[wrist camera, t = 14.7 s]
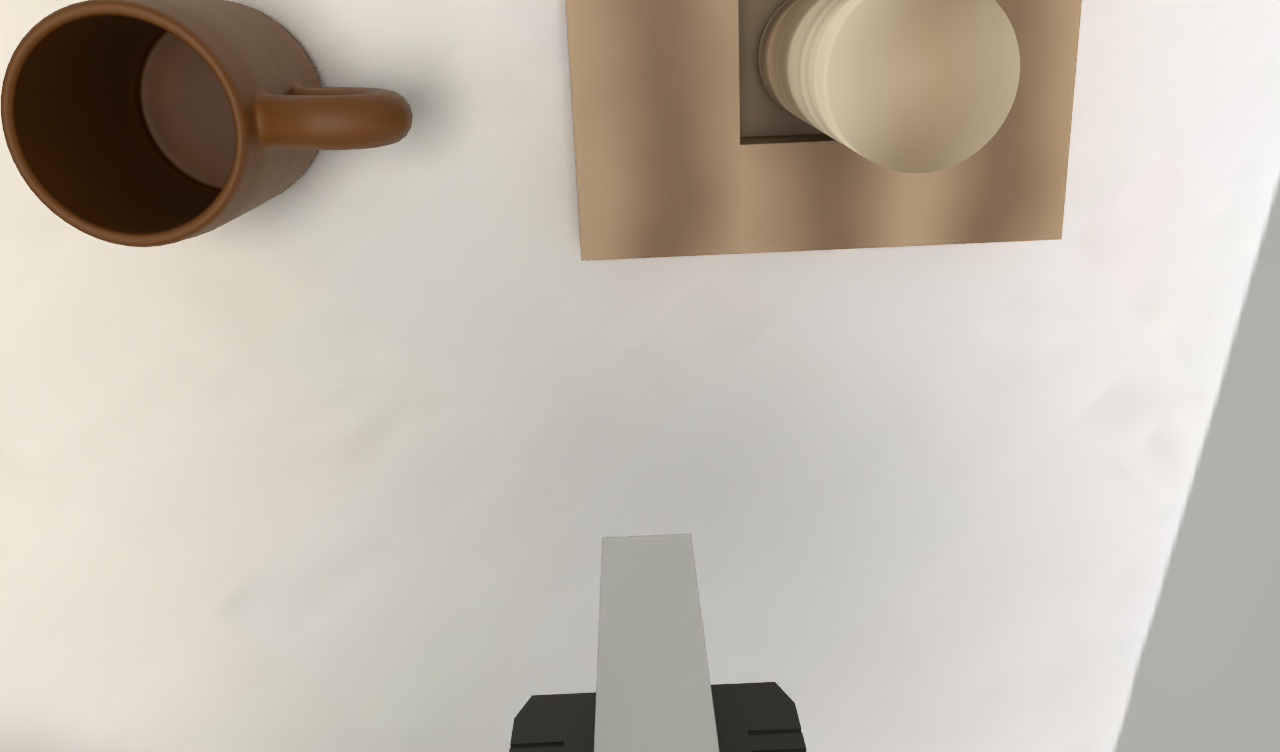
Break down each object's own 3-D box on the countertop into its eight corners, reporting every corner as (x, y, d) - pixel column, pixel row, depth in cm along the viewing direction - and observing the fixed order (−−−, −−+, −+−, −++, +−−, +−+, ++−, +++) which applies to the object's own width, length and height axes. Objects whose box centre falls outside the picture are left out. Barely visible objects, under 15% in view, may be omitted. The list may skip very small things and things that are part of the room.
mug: (438, -5, 40) (384, -9, 31) (452, 199, 42) (406, 249, 33) (115, -1, 40) (-32, -5, 31) (147, 203, 42) (19, 254, 33)
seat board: (584, 244, 43) (581, 260, 40) (561, -140, 38) (556, -153, 36) (1032, 224, 43) (1061, 239, 40) (1062, -163, 38) (1096, -177, 36)
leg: (750, 118, 41) (824, 179, 26) (749, -10, 39) (827, -24, 24) (870, 112, 41) (1015, 171, 26) (873, -15, 39) (1029, -33, 24)
